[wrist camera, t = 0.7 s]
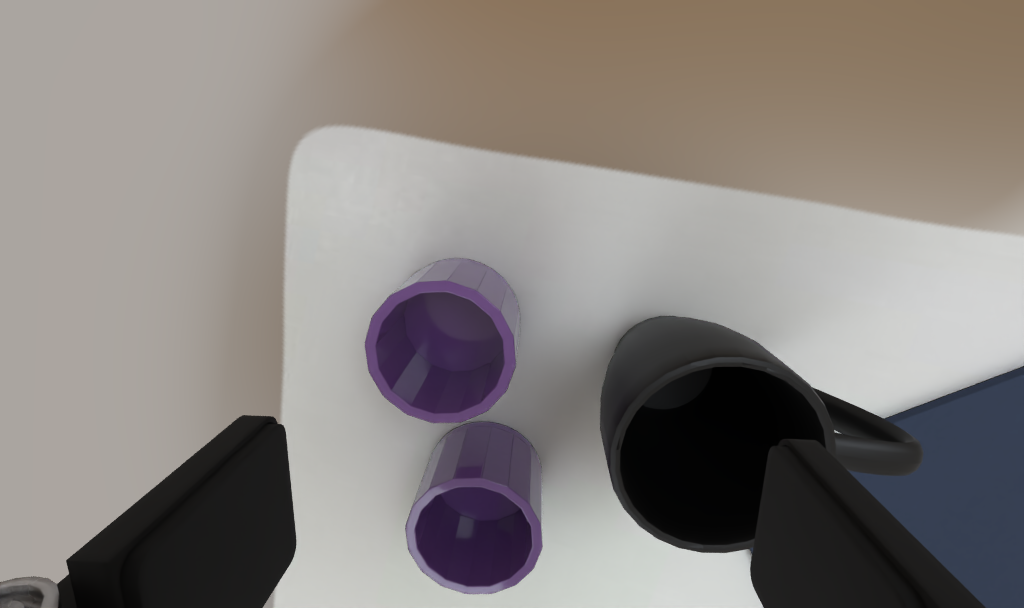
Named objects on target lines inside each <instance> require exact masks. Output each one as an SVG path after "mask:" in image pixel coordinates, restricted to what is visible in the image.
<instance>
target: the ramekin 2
mask: <svg viewBox="0 0 1024 608" xmlns="http://www.w3.org/2000/svg"><path fill="white" fill-rule="evenodd" d="M405 530H406V537H407V544H408V550H409V552H410V554H411V555H412V557H413V559H414V560H415V562H416V563H417V565H418V567H419V568H420V570H422V572H423V573H425V574H426V575H427V576H429V577H430V578H431V579H433V580H434V581H435V582H437V583H438V584H439V585H441V586H443V587H446V588H449V589H452V590H455V591H458V592H461V593H464V594H492V593H496V592H498V591H501V590H504V589H507V588H509V587H512V586H515V585H516V584H518V583H519V582H520V581H521V580H522V579H523V578H524V577H525V576H526V575H528V574H529V573H530V572H531V571H532V570H533V569H534V567H535V564H536V562H537V560H538V557H539V555H540V553H541V550H542V547H543V501H542V468H541V463H540V459H539V457H538V455H537V452H536V451H535V449H534V448H533V446H532V445H531V444H530V442H529V441H528V440H527V439H526V438H525V437H524V436H522V435H521V434H520V433H518V432H517V431H515V430H513V429H511V428H509V427H507V426H504V425H501V424H498V423H492V422H473V423H469V424H465V425H462V426H459V427H457V428H455V429H453V430H452V431H450V432H449V433H448V434H446V435H445V436H444V437H443V438H442V439H441V440H440V441H439V443H438V444H437V446H436V447H435V449H434V451H433V452H432V455H431V458H430V460H429V463H428V466H427V468H426V471H425V473H424V476H423V479H422V481H421V484H420V487H419V489H418V492H417V495H416V497H415V500H414V503H413V505H412V508H411V511H410V514H409V517H408V520H407V523H406V528H405Z"/></svg>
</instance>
